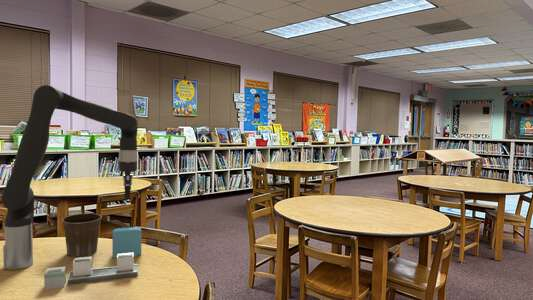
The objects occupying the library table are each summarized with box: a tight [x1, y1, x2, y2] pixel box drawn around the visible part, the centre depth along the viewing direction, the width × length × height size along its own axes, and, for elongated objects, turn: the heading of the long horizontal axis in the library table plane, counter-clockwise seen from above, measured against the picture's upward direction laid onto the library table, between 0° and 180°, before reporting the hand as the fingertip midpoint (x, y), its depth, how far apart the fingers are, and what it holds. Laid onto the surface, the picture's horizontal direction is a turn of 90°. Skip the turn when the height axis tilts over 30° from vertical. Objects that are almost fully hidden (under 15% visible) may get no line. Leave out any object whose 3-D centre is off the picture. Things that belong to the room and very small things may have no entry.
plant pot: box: [61, 213, 103, 258], centre depth 160 cm, size 16×16×16 cm
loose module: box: [43, 266, 67, 290], centre depth 127 cm, size 6×5×6 cm
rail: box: [67, 252, 139, 286], centre depth 136 cm, size 24×8×8 cm, turn 111°
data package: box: [111, 226, 142, 259], centre depth 158 cm, size 12×4×12 cm, turn 112°
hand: (127, 196), depth 154 cm, fingers open, 8 cm apart
